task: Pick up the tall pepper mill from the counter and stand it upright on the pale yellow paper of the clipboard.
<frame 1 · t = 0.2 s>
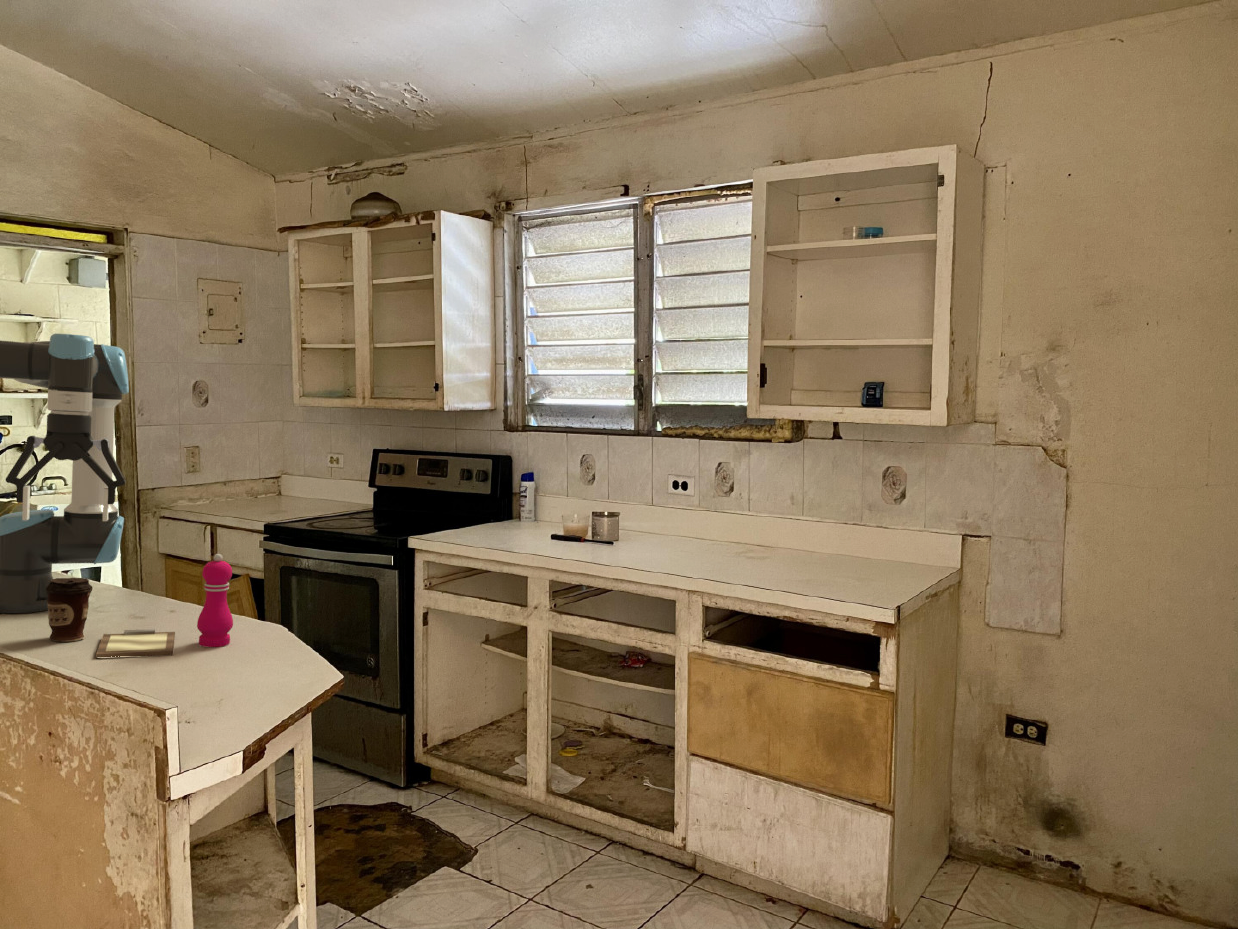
hand: (66, 520, 181), 28 cm above the counter, tool pointing down, fingers open, 13 cm apart
clipboard: (137, 646, 194), on the counter
coffee cup: (66, 640, 196), on the counter
pepper mill: (214, 644, 200), on the counter
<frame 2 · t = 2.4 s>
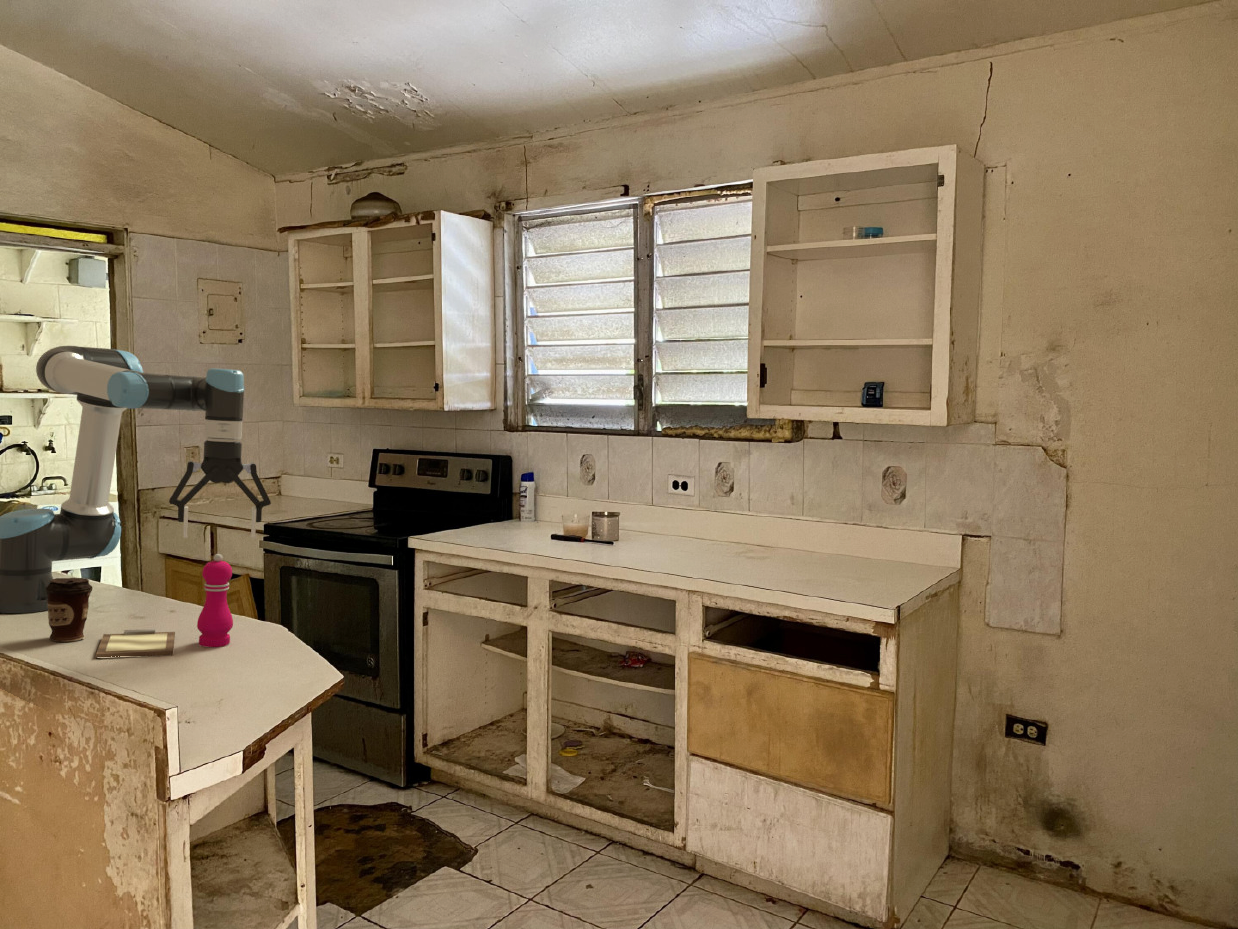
hand: (219, 537, 199), 24 cm above the counter, tool pointing down, fingers open, 13 cm apart
nothing on the counter moved.
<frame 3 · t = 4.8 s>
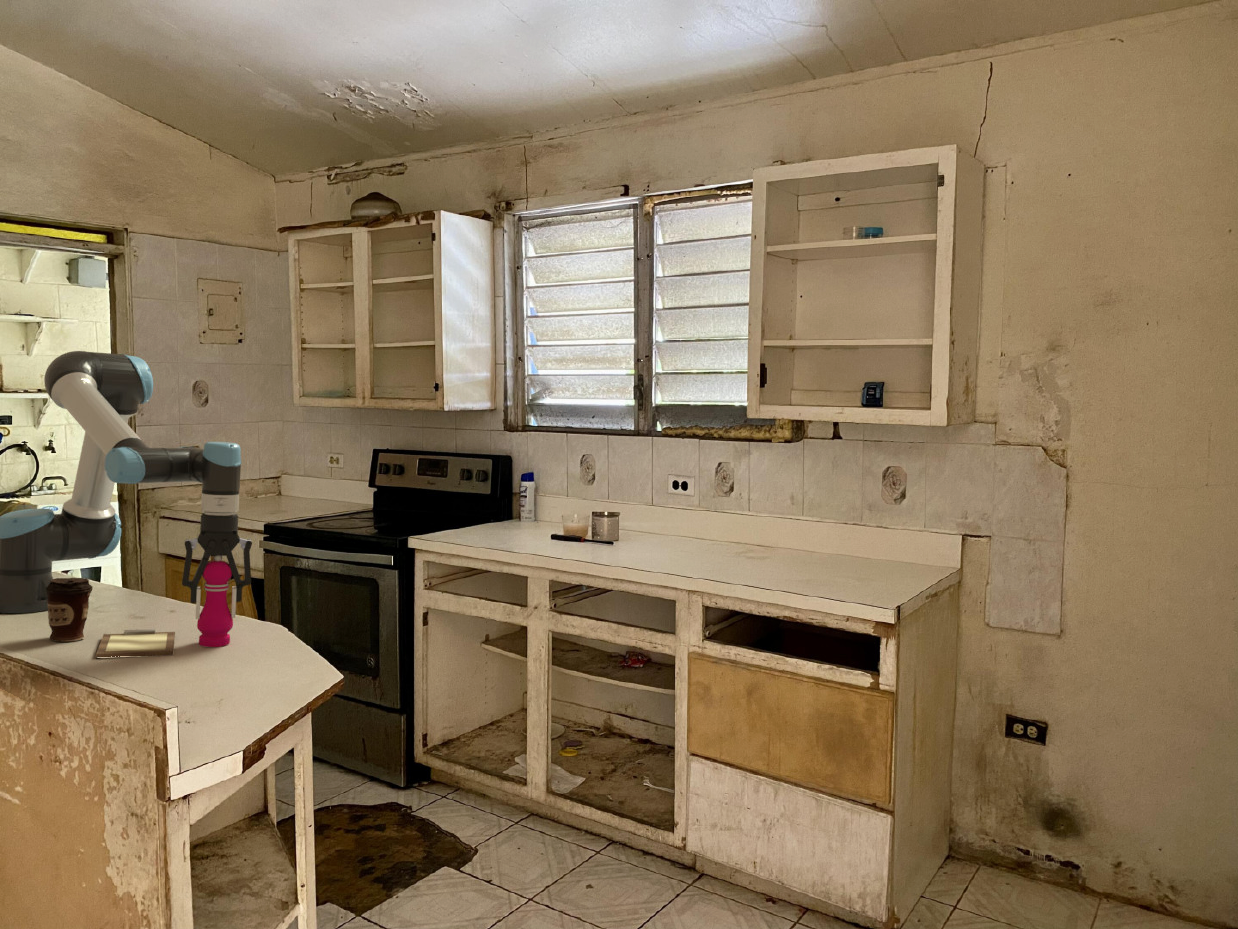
hand: (215, 616, 200), 6 cm above the counter, tool pointing down, fingers closed on pepper mill, 6 cm apart
pepper mill: (214, 644, 200), on the counter, touching gripper
everything else where it was.
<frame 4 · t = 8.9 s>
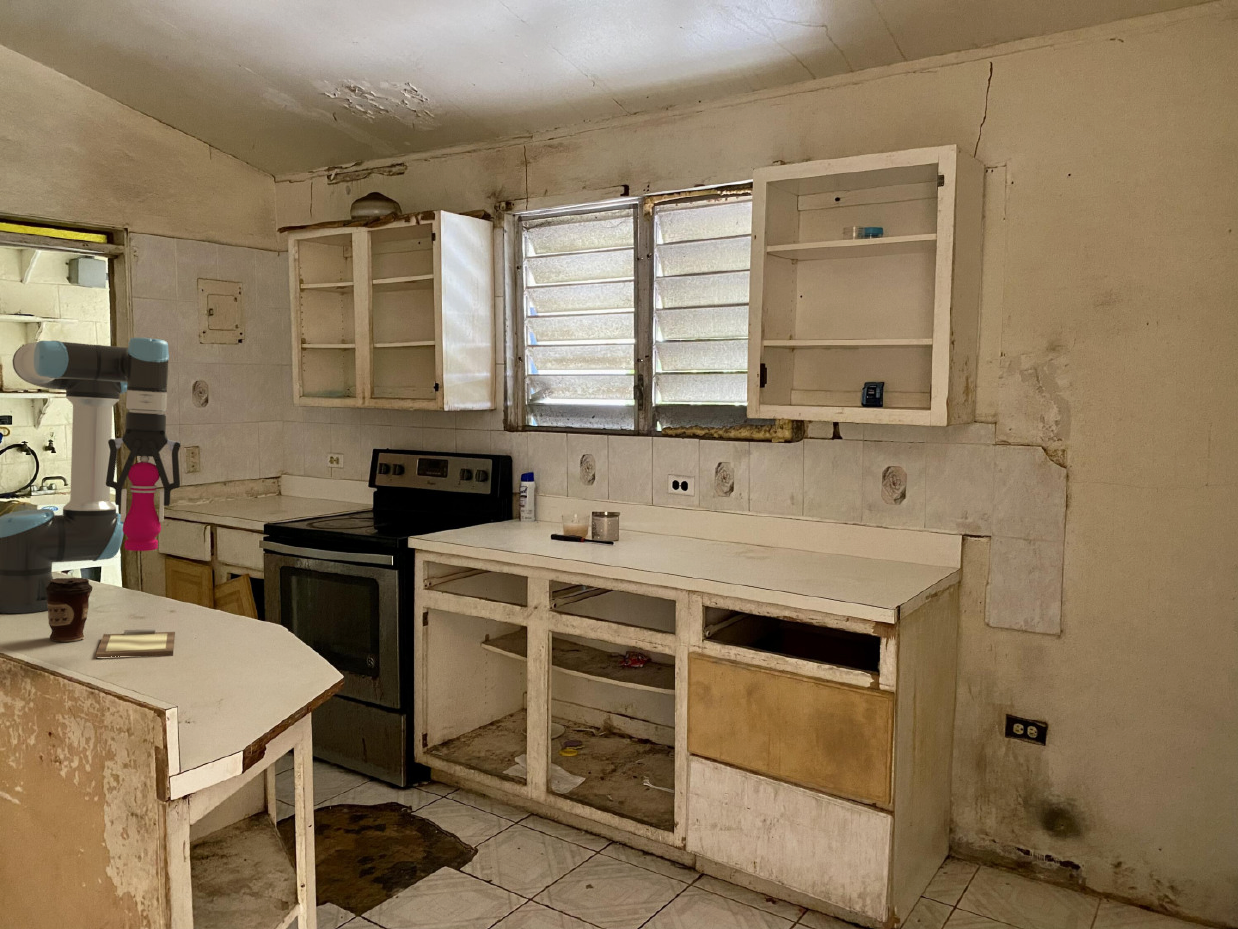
hand: (142, 520, 192), 27 cm above the counter, tool pointing down, fingers closed on pepper mill, 6 cm apart
pepper mill: (141, 549, 193), point 21 cm above the counter, touching gripper
everything else where it was.
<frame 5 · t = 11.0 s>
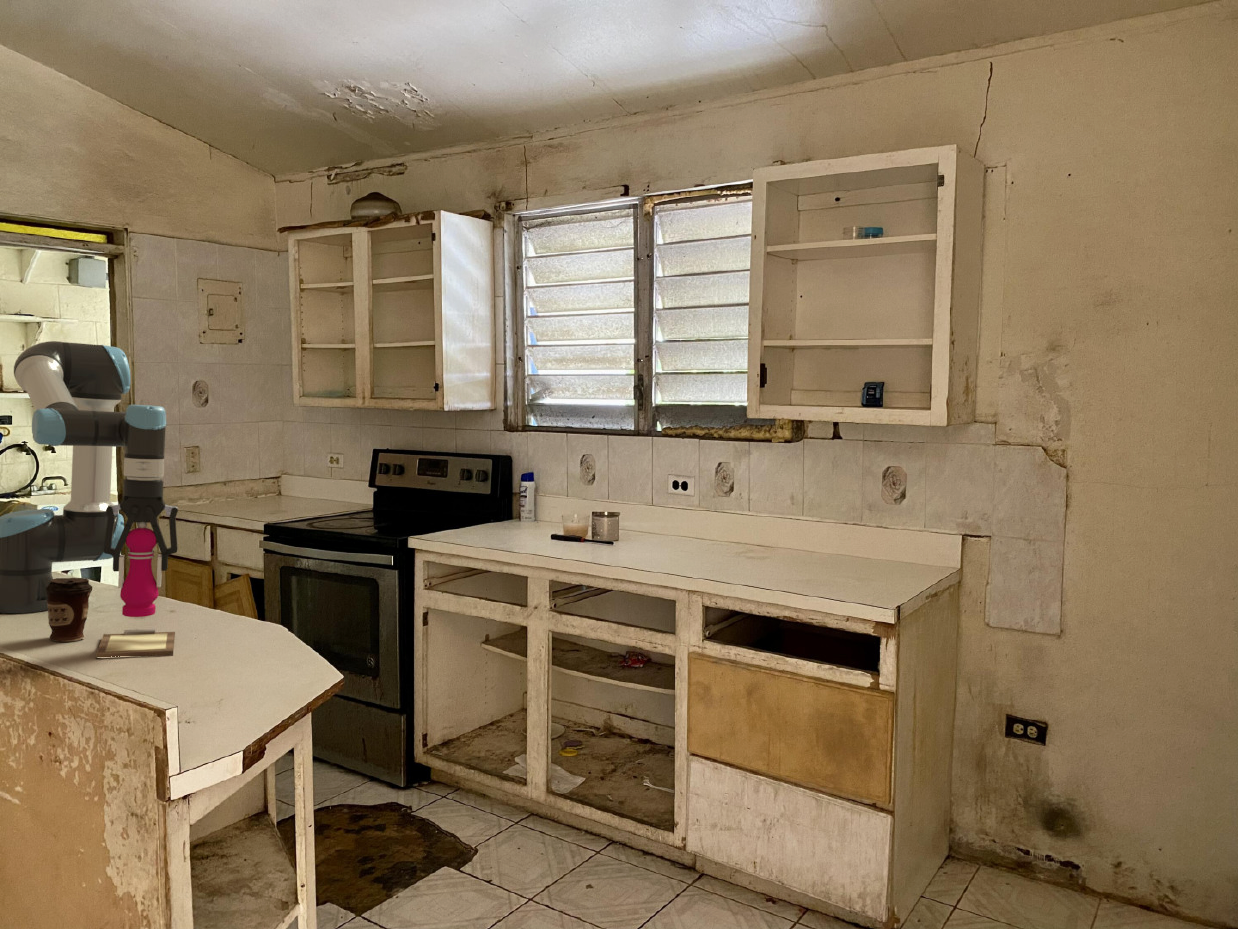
hand: (139, 586, 193), 13 cm above the counter, tool pointing down, fingers closed on pepper mill, 6 cm apart
pepper mill: (138, 614, 194), point 7 cm above the counter, touching gripper
everything else where it was.
when the fingers open (9 cm above the counter, at t = 12.8 s): pepper mill drops 1 cm, resting on clipboard.
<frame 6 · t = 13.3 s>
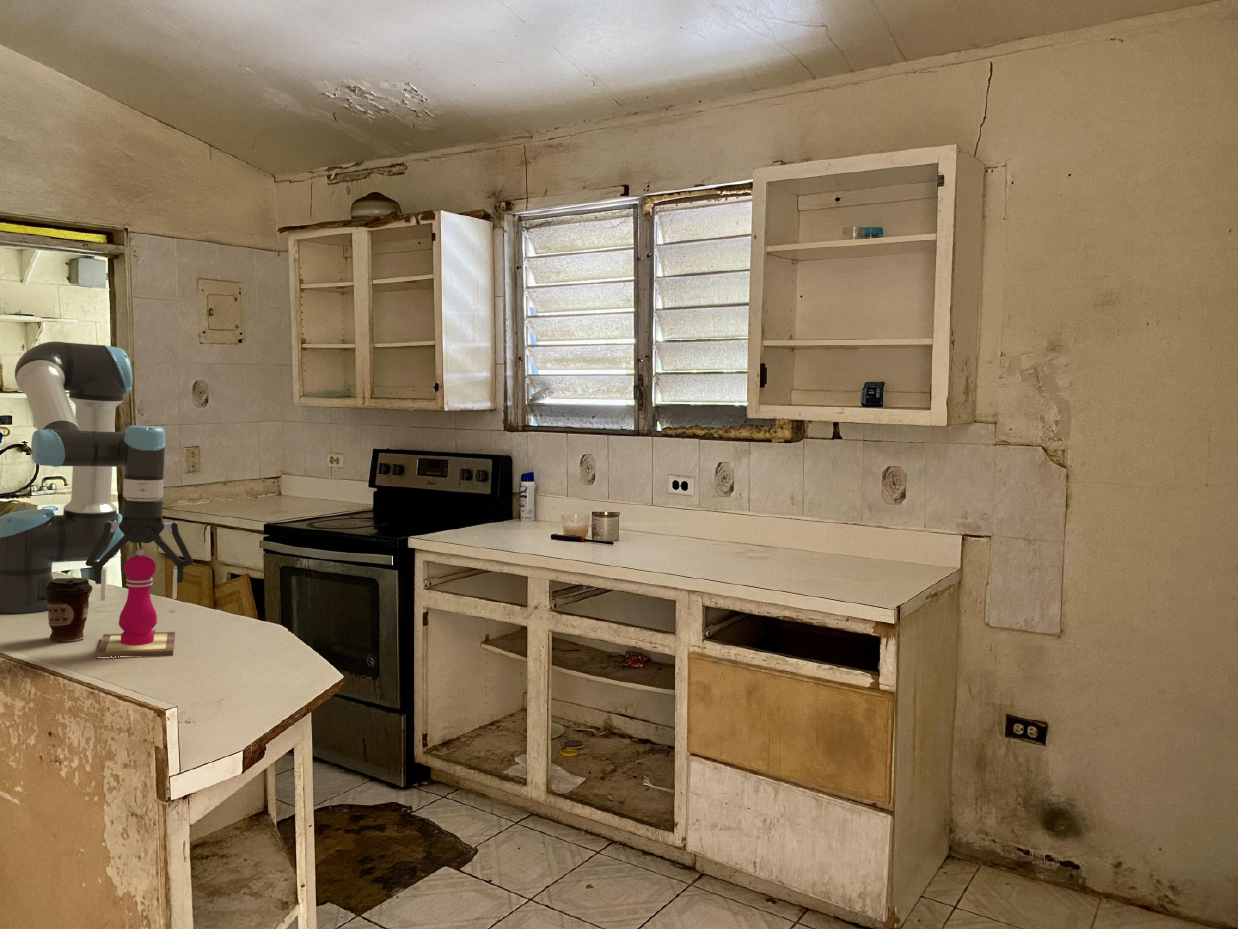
hand: (139, 598, 193), 10 cm above the counter, tool pointing down, fingers open, 13 cm apart
pepper mill: (137, 642, 194), point 1 cm above the counter, touching clipboard
everything else where it was.
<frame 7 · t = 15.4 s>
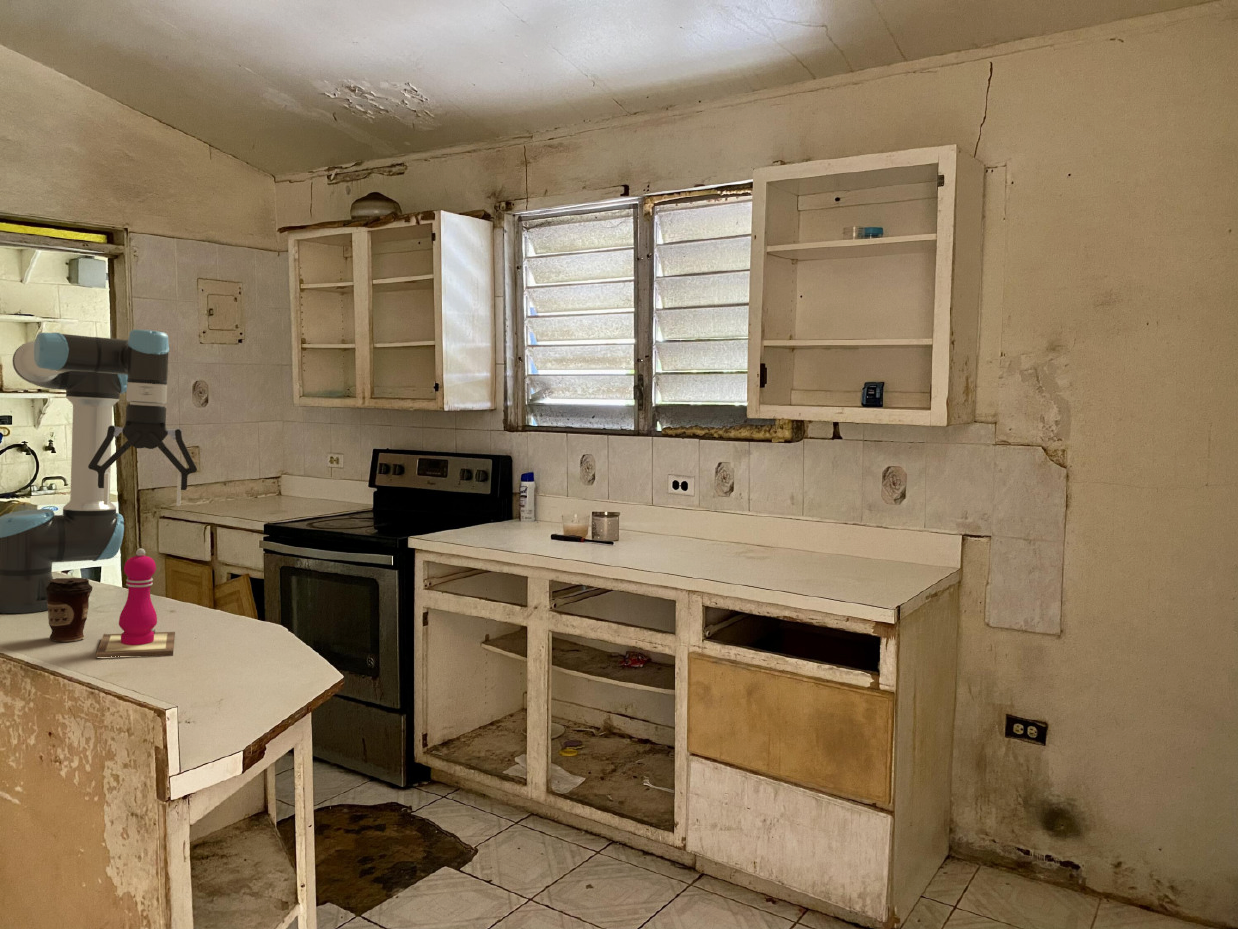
hand: (142, 504, 192), 30 cm above the counter, tool pointing down, fingers open, 13 cm apart
nothing on the counter moved.
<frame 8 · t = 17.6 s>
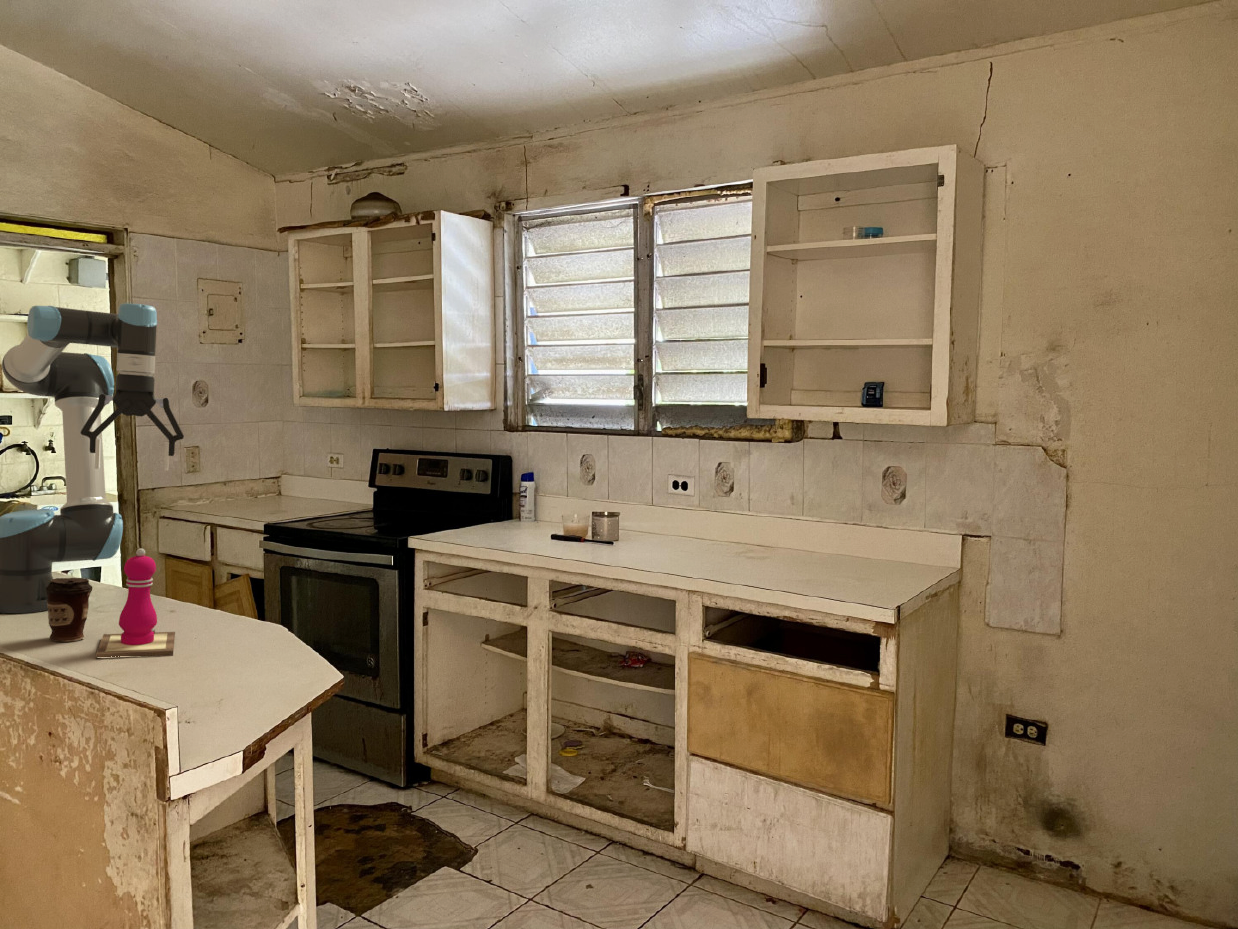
hand: (132, 469, 203), 37 cm above the counter, tool pointing down, fingers open, 13 cm apart
nothing on the counter moved.
at the end: pepper mill inside the target area on the clipboard (0.1 cm from its centre), point 1.0 cm above the clipboard's base; pepper mill tilted 0°; the gripper is holding nothing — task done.
